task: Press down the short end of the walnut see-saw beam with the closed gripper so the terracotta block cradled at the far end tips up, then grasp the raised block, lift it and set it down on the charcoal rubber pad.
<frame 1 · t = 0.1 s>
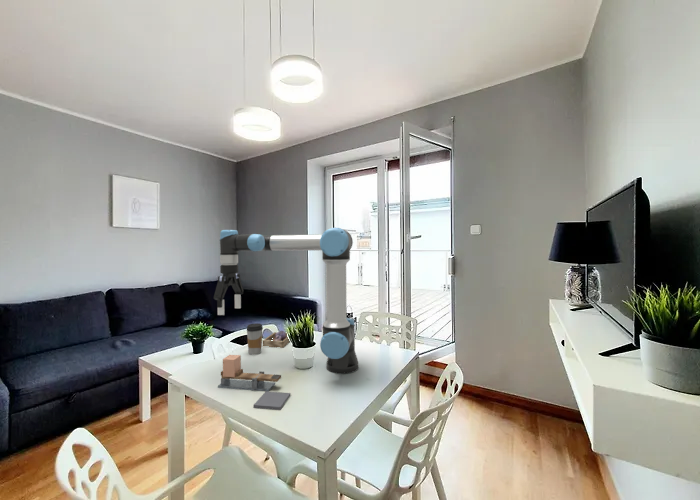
hand: (229, 311, 133), 28 cm above the table, fingers open, 13 cm apart
lever: (250, 374, 120), point 5 cm above the table, hinge at 0.0°, touching block
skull: (278, 343, 175), resting in rock tray
rock tray: (278, 342, 175), on the table
fulcrum: (258, 386, 120), on the table
pad: (272, 401, 108), on the table
coffee cup: (254, 353, 158), on the table
block: (232, 374, 121), point 4 cm above the table, touching lever
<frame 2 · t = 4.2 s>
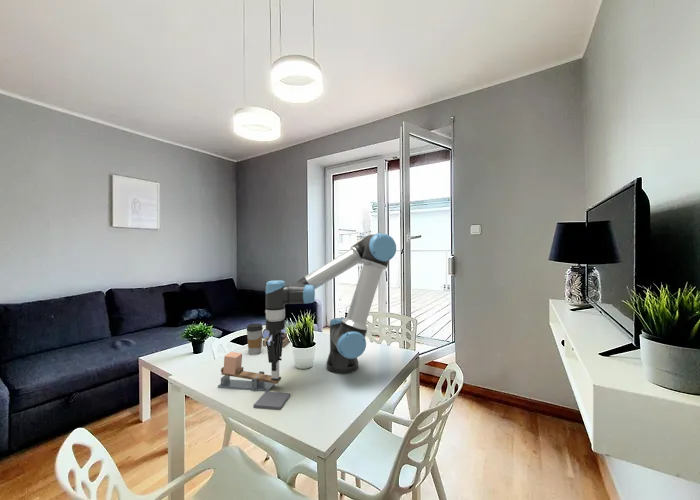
hand: (275, 377, 118), 4 cm above the table, fingers closed
lever: (251, 374, 120), point 5 cm above the table, hinge at 5.7°, touching gripper
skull: (277, 343, 174), resting in rock tray
block: (232, 371, 121), point 6 cm above the table, tilted 6°
everything else where it was.
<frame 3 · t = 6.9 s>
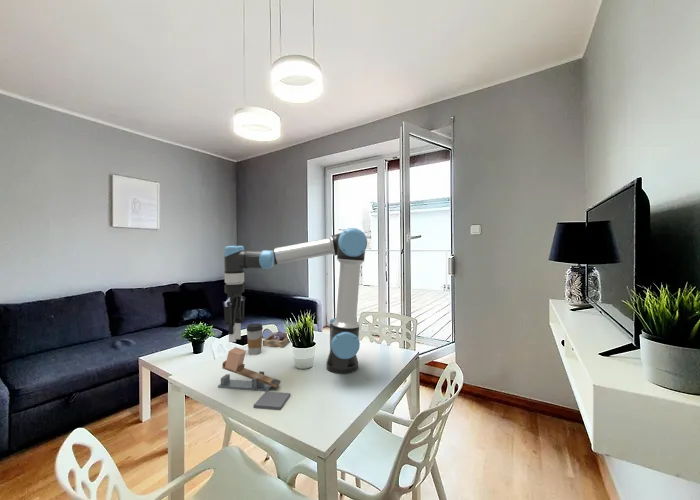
hand: (234, 340, 121), 19 cm above the table, fingers open, 3 cm apart
lever: (251, 372, 120), point 6 cm above the table, hinge at 15.5°, touching block
block: (233, 367, 121), point 7 cm above the table, tilted 15°, touching lever
everything else where it was.
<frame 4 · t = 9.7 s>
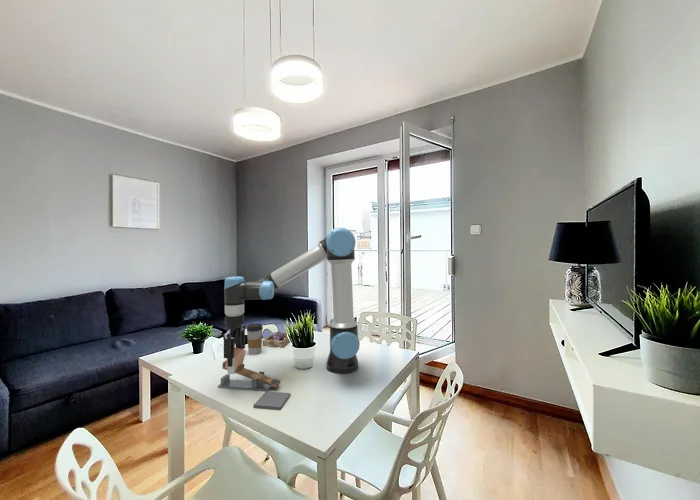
hand: (235, 370, 121), 6 cm above the table, fingers closed on block, 5 cm apart
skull: (276, 343, 174), resting in rock tray
block: (233, 367, 121), point 7 cm above the table, tilted 15°, touching gripper, lever
everything else where it was.
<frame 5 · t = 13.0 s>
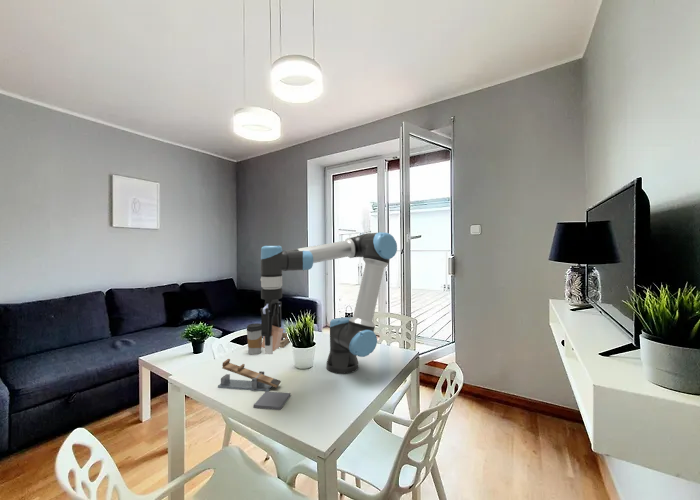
hand: (272, 350, 108), 19 cm above the table, fingers closed on block, 5 cm apart
lever: (251, 372, 120), point 6 cm above the table, hinge at 15.5°
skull: (275, 343, 174), resting in rock tray
block: (270, 346, 108), point 20 cm above the table, tilted 15°, touching gripper
everything else where it was.
when the fingers open (2 cm above the table, at t = 16.2 s): block drops 2 cm, resting on pad.
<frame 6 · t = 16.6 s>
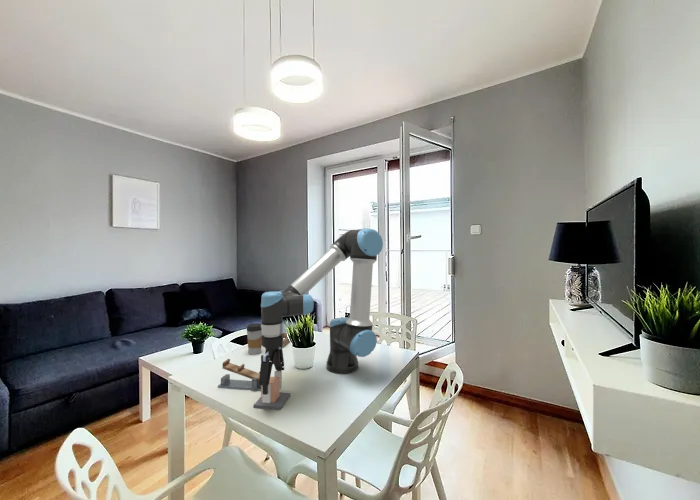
hand: (272, 394, 108), 2 cm above the table, fingers open, 10 cm apart
block: (270, 398, 108), point 1 cm above the table, touching pad
everything else where it was.
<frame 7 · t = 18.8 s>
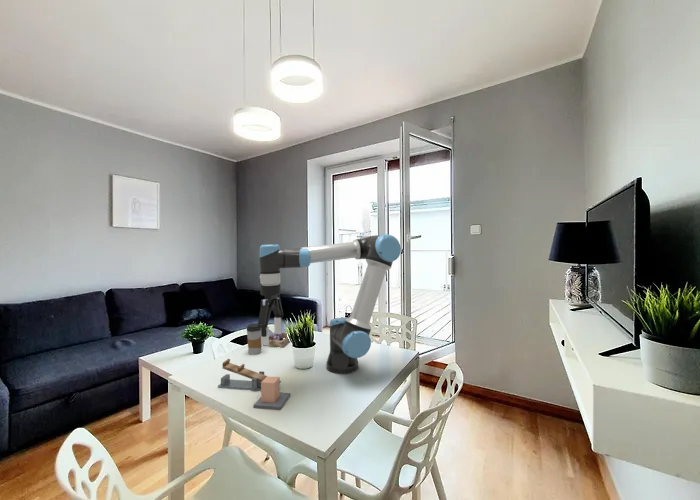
hand: (272, 338, 114), 21 cm above the table, fingers open, 13 cm apart
nothing on the table moved.
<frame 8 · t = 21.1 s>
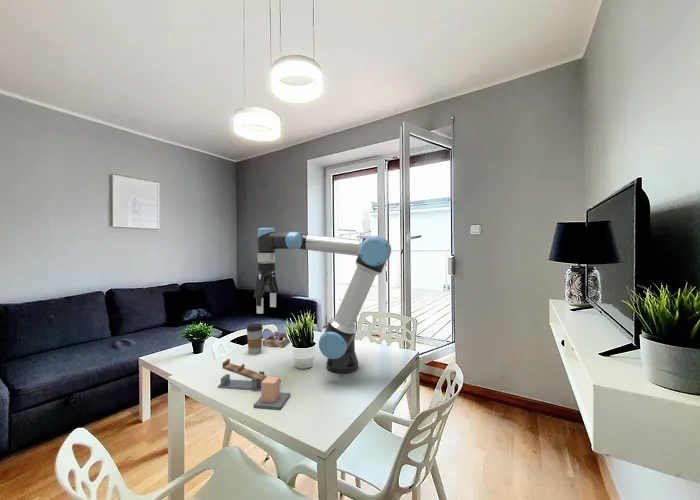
hand: (266, 310, 131), 29 cm above the table, fingers open, 13 cm apart
nothing on the table moved.
at the end: block inside the target area on the pad (0.8 cm from its centre), point 1.0 cm above the pad's base; block tilted 0°; the gripper is holding nothing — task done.
